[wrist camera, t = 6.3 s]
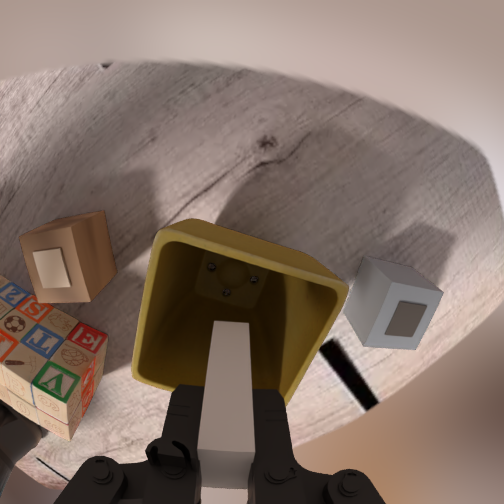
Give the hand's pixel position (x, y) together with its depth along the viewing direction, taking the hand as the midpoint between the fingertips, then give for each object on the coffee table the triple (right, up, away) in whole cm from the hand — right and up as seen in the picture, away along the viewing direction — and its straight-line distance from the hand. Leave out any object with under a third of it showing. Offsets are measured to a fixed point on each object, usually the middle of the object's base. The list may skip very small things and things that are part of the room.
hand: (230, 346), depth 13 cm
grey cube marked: (+11, +1, +10) cm, 15 cm away
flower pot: (0, +3, +9) cm, 9 cm away
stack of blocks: (-23, -2, +10) cm, 25 cm away
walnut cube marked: (-12, +5, +8) cm, 15 cm away
